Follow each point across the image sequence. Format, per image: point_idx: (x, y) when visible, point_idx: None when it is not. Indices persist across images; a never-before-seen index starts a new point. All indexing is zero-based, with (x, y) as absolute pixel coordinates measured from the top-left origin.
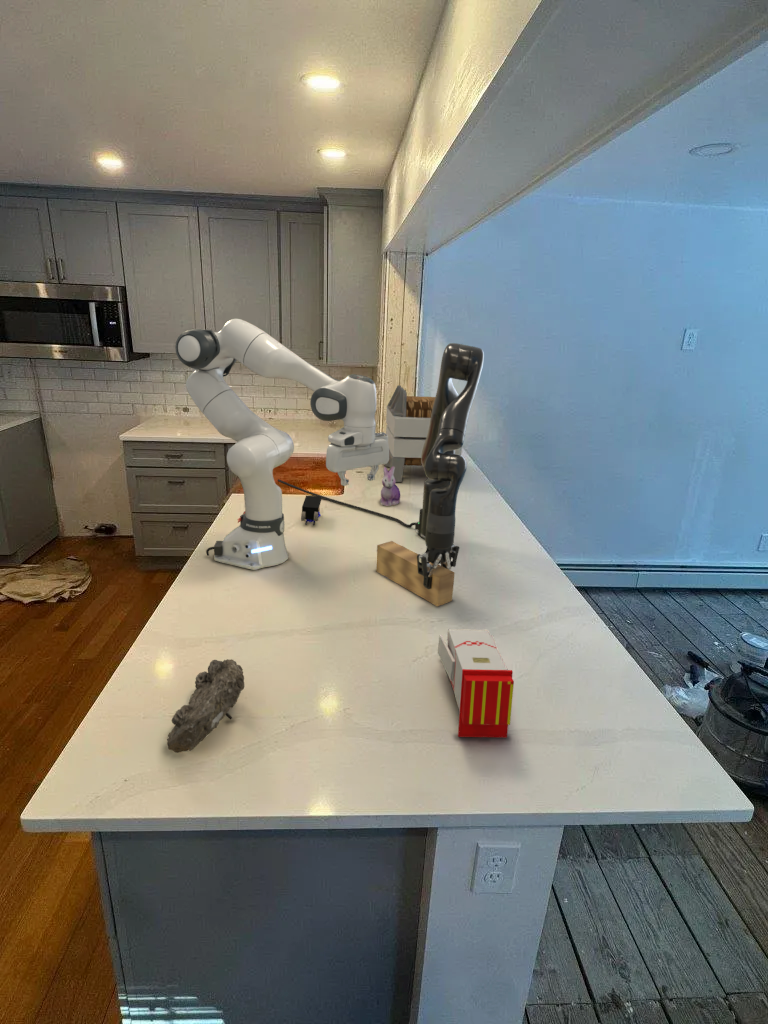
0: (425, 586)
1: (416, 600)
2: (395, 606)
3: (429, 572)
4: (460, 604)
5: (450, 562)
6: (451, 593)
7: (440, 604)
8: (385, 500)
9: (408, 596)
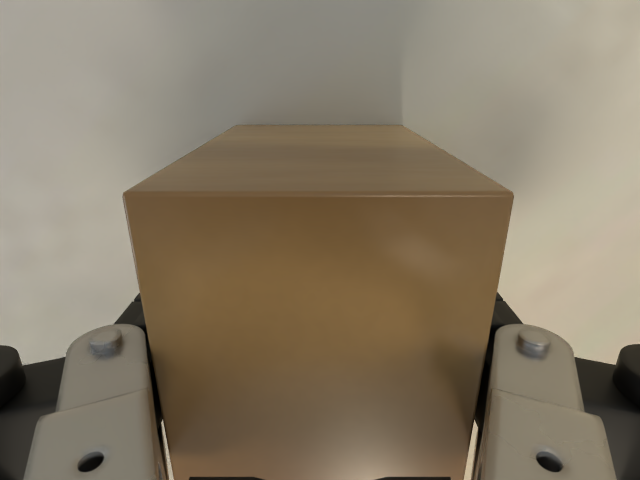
0: None
1: None
2: (619, 298)
3: (578, 384)
4: (213, 35)
5: (45, 417)
6: (236, 135)
7: (371, 125)
8: None
9: None
